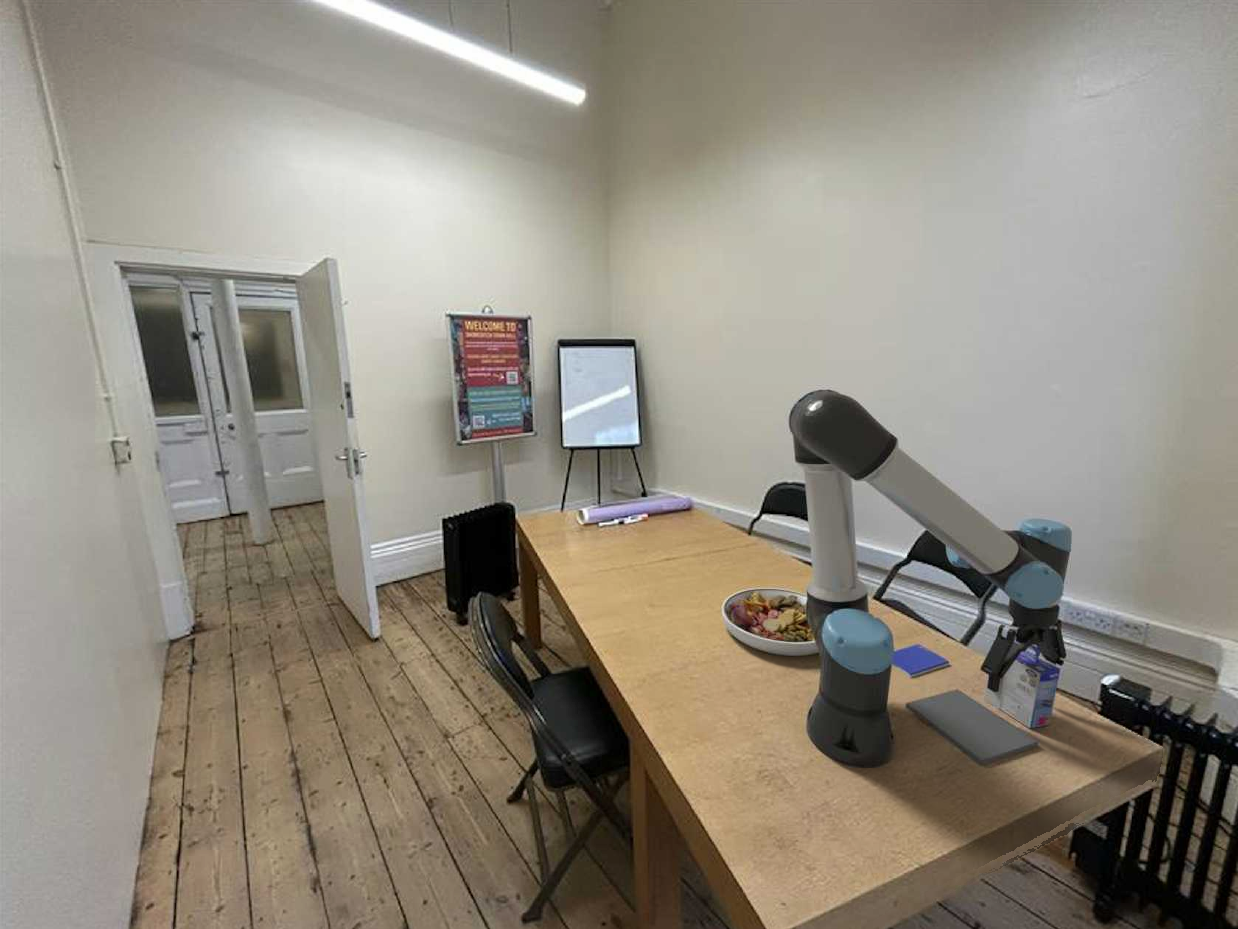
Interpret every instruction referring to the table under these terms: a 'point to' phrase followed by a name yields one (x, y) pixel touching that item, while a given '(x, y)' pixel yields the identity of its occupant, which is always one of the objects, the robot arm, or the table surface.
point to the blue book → (917, 660)
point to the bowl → (770, 621)
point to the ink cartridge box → (1030, 689)
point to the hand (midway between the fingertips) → (1018, 697)
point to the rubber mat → (971, 726)
